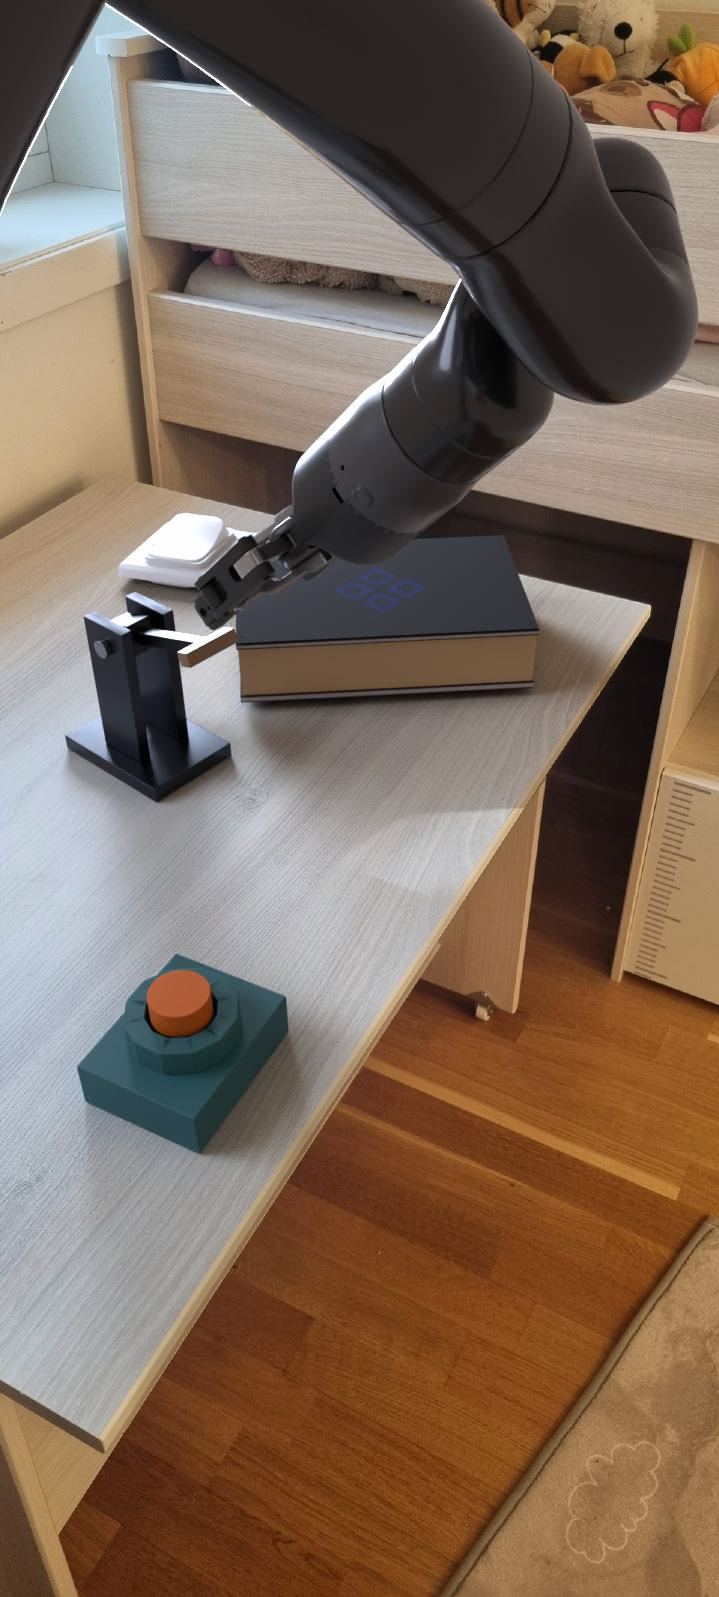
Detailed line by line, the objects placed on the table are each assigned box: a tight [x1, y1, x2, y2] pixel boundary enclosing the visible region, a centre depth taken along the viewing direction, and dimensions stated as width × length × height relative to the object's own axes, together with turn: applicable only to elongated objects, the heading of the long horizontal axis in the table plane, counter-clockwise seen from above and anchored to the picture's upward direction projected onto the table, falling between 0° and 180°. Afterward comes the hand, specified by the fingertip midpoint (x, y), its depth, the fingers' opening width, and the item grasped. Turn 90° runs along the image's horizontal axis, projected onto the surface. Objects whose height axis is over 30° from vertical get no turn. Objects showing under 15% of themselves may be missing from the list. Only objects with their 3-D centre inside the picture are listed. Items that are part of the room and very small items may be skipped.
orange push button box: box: [76, 953, 290, 1155], centre depth 70 cm, size 10×8×5 cm
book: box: [235, 534, 540, 704], centre depth 107 cm, size 17×25×7 cm
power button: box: [147, 970, 213, 1038], centre depth 68 cm, size 4×4×2 cm
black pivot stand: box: [64, 591, 232, 803], centre depth 93 cm, size 11×8×13 cm
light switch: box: [117, 512, 258, 589], centre depth 122 cm, size 11×4×13 cm
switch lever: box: [110, 612, 238, 669], centre depth 87 cm, size 11×5×2 cm, turn 49°
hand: (254, 590), depth 77 cm, fingers open, 8 cm apart
